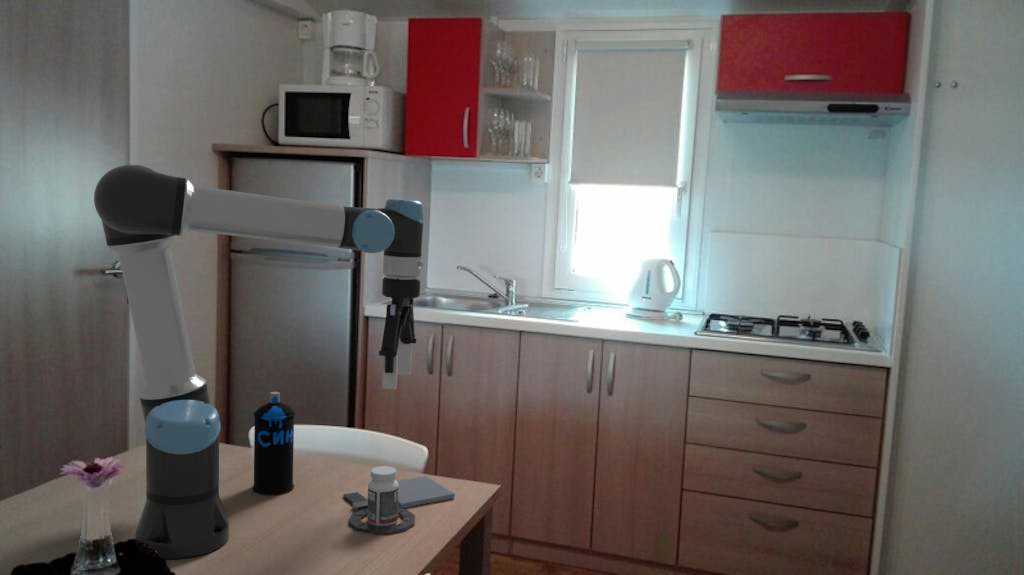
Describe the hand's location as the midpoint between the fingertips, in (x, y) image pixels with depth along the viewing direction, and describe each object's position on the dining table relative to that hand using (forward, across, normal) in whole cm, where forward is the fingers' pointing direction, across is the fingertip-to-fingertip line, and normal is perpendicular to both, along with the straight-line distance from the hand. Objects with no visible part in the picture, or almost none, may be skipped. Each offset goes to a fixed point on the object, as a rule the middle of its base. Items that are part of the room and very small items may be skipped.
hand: (397, 381), depth 172 cm
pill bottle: (+24, -15, -2) cm, 28 cm away
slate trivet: (+23, 0, -5) cm, 24 cm away
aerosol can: (+24, -3, +24) cm, 34 cm away
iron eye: (+23, -12, +1) cm, 26 cm away
